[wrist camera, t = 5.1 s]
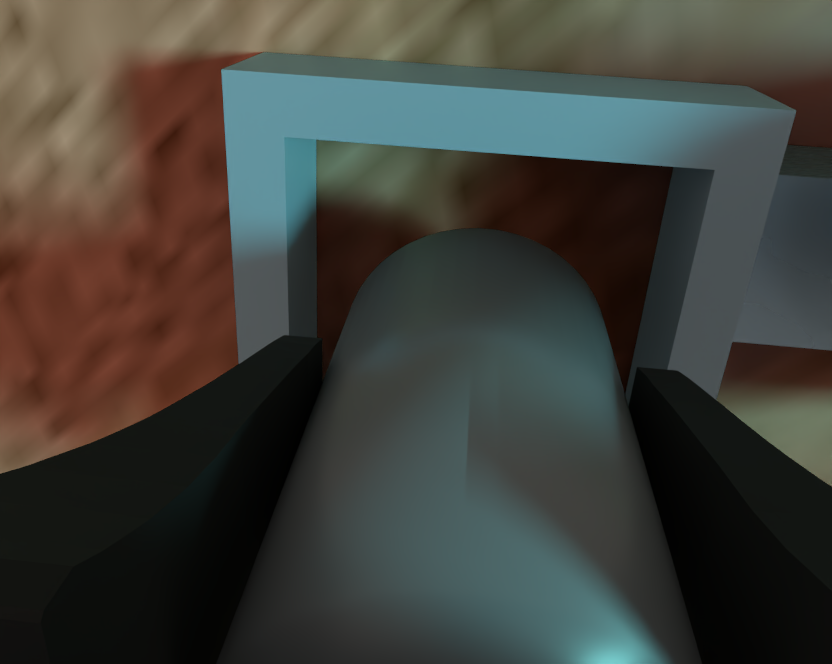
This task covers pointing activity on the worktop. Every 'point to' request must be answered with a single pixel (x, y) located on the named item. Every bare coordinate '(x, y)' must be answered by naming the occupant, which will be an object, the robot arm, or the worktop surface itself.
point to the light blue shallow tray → (518, 135)
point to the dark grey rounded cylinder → (467, 482)
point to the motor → (794, 258)
